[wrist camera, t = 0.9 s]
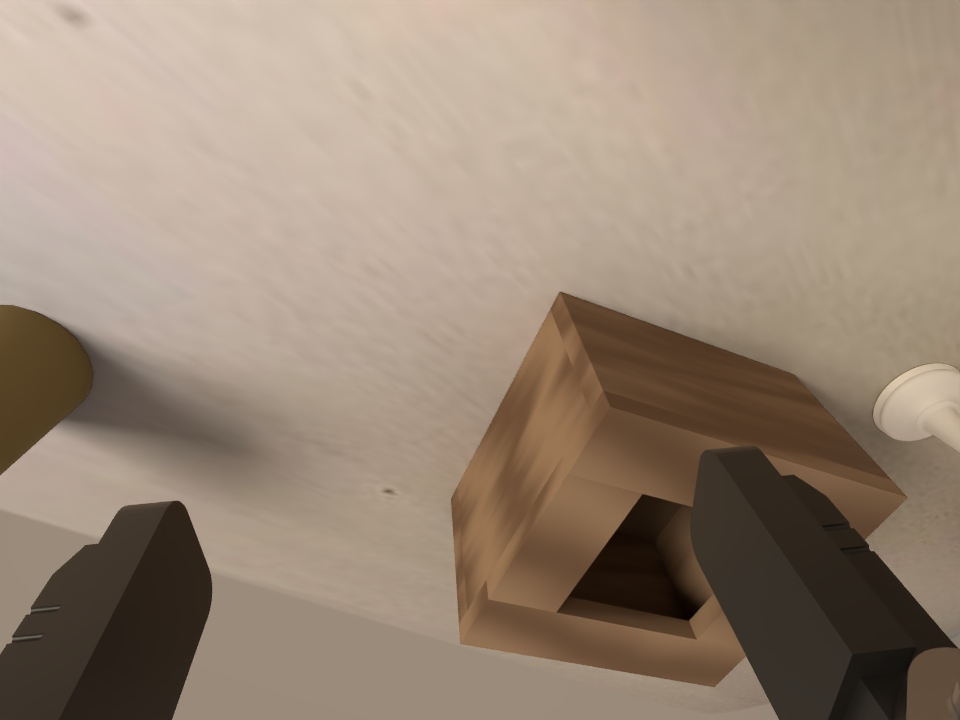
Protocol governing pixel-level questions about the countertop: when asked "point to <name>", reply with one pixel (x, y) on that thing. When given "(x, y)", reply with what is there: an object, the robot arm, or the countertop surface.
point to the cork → (36, 379)
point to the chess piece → (922, 405)
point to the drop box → (628, 493)
